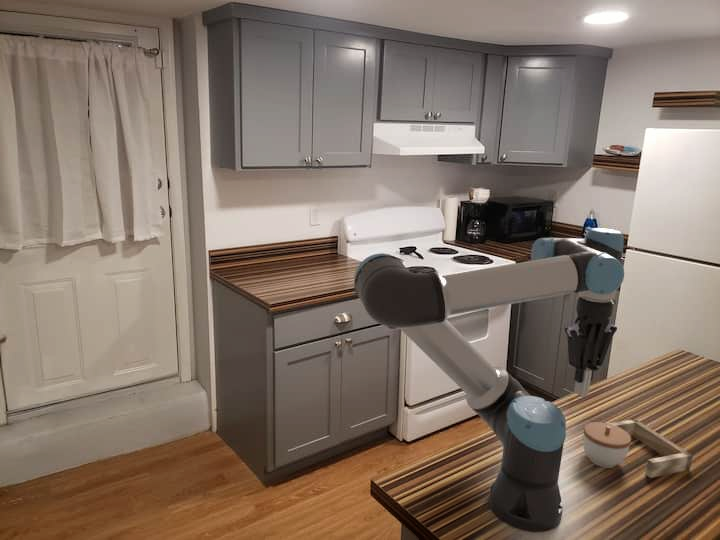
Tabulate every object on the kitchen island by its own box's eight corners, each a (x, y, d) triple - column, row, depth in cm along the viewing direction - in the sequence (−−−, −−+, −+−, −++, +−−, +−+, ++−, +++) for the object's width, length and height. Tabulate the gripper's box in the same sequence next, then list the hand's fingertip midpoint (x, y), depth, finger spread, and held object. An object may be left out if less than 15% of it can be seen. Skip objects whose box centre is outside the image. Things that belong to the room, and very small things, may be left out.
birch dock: (650, 477, 134) (653, 463, 133) (596, 438, 150) (598, 425, 149) (689, 469, 138) (692, 455, 137) (632, 432, 154) (635, 419, 153)
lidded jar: (631, 476, 134) (637, 441, 131) (583, 469, 136) (589, 434, 133) (620, 452, 144) (626, 419, 142) (576, 446, 146) (581, 413, 144)
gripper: (583, 304, 120) (568, 404, 126) (632, 301, 125) (615, 398, 130) (560, 294, 127) (547, 390, 133) (607, 291, 131) (592, 384, 137)
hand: (581, 393), depth 132 cm, fingers closed
